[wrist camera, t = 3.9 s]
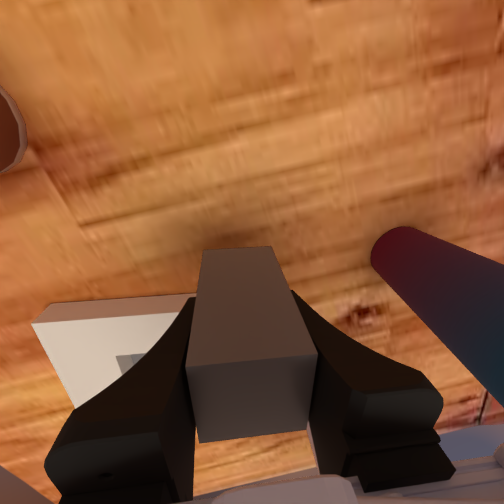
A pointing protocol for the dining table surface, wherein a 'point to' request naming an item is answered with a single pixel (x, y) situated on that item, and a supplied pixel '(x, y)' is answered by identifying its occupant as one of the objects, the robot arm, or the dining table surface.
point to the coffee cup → (11, 132)
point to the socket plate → (102, 338)
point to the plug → (248, 349)
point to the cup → (450, 297)
